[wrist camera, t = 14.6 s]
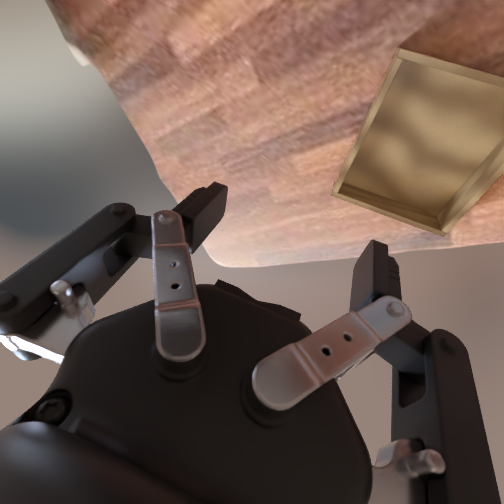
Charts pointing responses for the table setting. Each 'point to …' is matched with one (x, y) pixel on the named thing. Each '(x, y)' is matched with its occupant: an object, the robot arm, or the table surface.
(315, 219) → the table surface
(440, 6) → the table surface
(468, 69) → the tray
